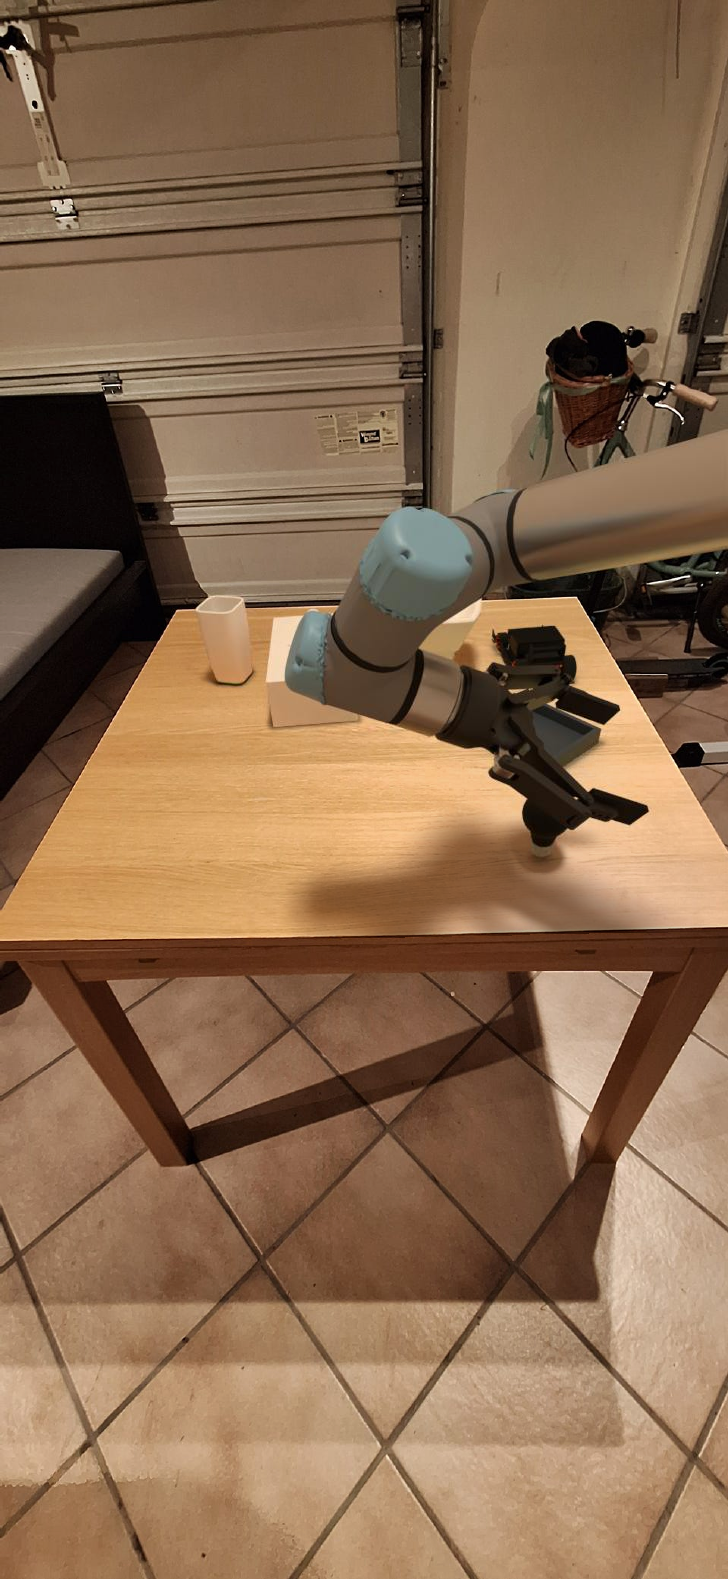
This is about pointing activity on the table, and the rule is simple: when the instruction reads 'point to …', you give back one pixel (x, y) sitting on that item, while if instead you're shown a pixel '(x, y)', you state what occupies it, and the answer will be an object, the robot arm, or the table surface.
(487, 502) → the robot arm
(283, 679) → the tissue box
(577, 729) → the slate tray
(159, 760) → the table surface
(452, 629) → the bowl
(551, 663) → the toy truck
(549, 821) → the light bulb
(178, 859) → the table surface
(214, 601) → the cup
